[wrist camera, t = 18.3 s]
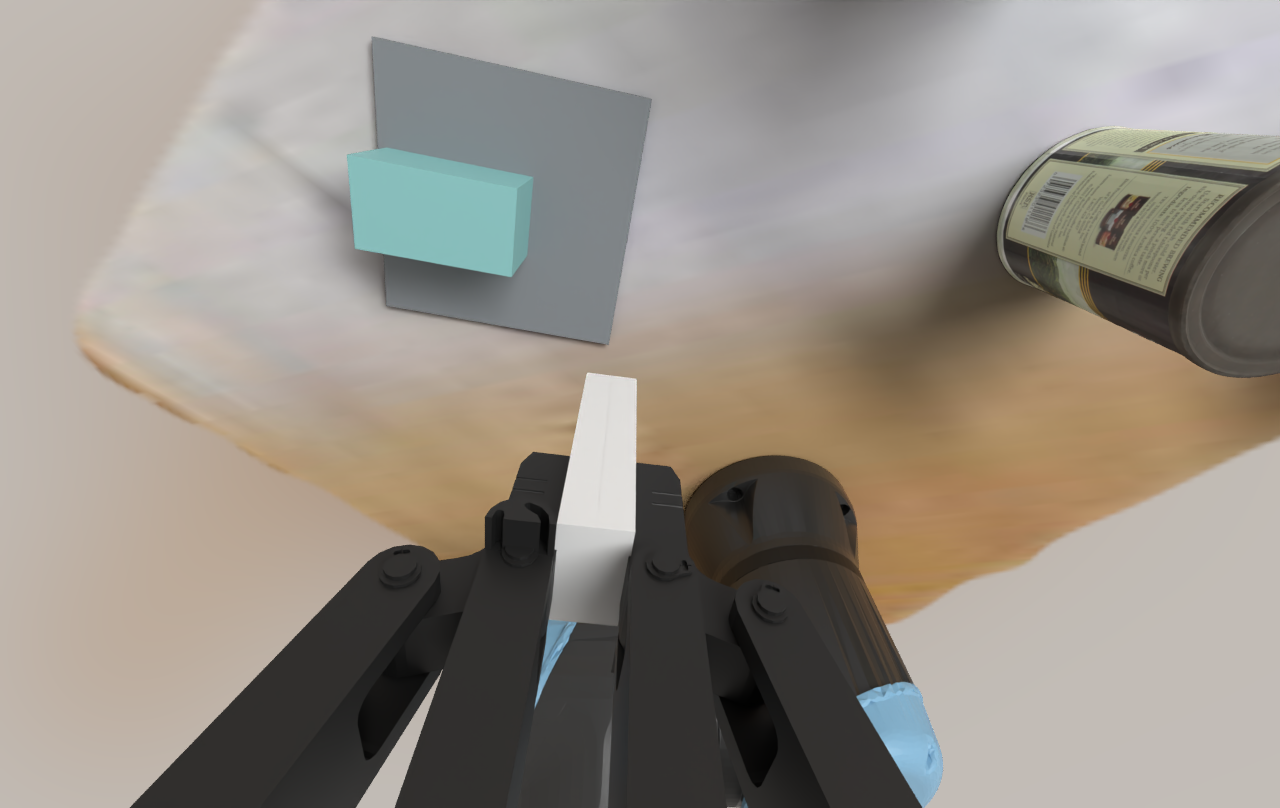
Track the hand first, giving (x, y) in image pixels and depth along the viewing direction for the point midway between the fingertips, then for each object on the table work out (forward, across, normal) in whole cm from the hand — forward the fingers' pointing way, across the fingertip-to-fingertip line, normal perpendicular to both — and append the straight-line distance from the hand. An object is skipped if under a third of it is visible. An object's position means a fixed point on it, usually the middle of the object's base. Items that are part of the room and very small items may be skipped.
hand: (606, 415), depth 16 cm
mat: (+22, +8, -2) cm, 24 cm away
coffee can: (+23, -29, -7) cm, 38 cm away
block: (+19, +6, -1) cm, 20 cm away
